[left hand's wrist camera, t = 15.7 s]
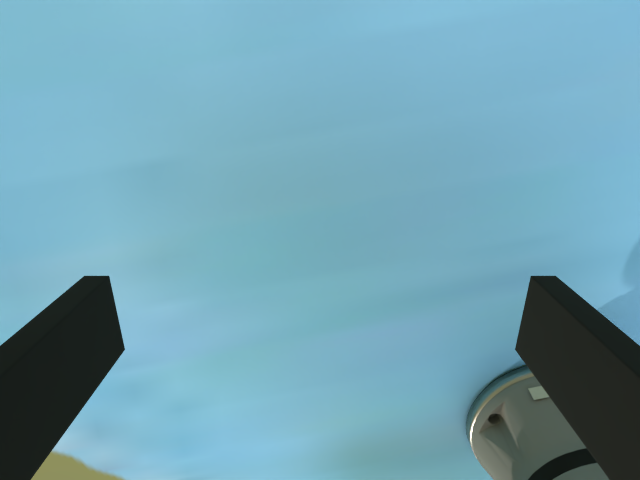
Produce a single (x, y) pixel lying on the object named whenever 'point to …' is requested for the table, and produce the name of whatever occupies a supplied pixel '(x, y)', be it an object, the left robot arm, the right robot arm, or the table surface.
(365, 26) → the table surface
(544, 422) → the left robot arm
